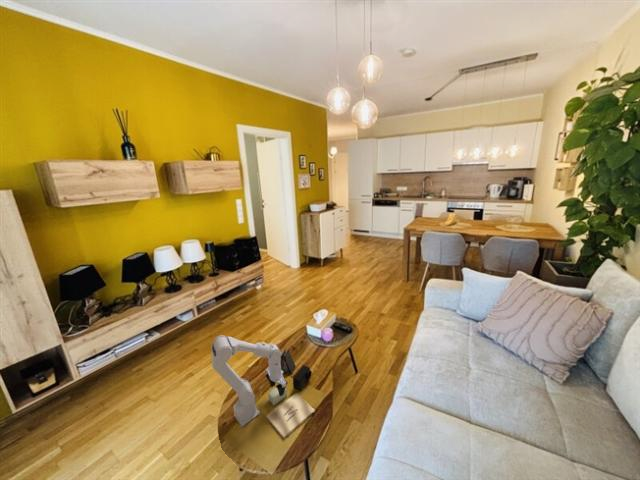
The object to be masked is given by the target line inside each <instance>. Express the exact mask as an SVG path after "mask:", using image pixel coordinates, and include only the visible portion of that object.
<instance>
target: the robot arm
mask: <svg viewBox="0 0 640 480" xmlns="http://www.w3.org/2000/svg"><path fill="white" fill-rule="evenodd" d="M212 341H213V342H212V343H211V344H212V345H211V346H210V347H211V348H210V349H211V364H212V365H211V366H212V368H213V370H214V371H215V372H216V373H218V375H219V376H220V377H221V378H222V379H223V380H224V381H225V382H226V383H227V384H228V386H230V387H231V389H233V391H235V393H236V395H237V397H238V399H237V402H236V403H234V404H233V407H232V408H233V414H234V415H233V417H234V418H235V419H236V420H237V422H238V424H239V425H240V427H244V426H245V425H246V424H248V423H249V422H251V420H253V419H255V418H257V416H258V415H260V414H261V413H260V411H259V409H258V408H257V406H256V394H255V393H254V391H253V389H252V386H251V384H250V382H249V381H248V380H247V379H244V378H241V376H240V375H238V374H237V373H236V371H235V370H234V369H233V368H232V367H231V365H229V364H228V361H229V359H231V357H232V356H235V355H236V354H237V353H238V352H246V353H252V354H253V355H254V356H255V357H262V358H267V359H268V362H267V363H268V367H267V368H266V369H265V370H266V371H265V372H266V373H267V374H266V375H265V378H266V379H267V381H268V383H269V385H270V387H271V388H273V387H274V386H275V388H277V389H278V391H279V395H280V396H282V395H283V394H284V391H285V388H286V387H287V385H288V381H287V380H285V378H284V375H283V374H284V373H283V371H282V370H281V355H282V354H283V352H281V350H280V348H279V347H278V345H276V343H273V342H270V343H269V344H267V343H265V342H263V341H261V342H259V341H258V342H256V343H251V342H247V341H243V340H240V339H237V338H234V337H232V336H226V335H223V334H221V335H218V336H216V337H215V338H214V340H212ZM276 384H277V385H276ZM286 389H287V388H286Z"/></svg>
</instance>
